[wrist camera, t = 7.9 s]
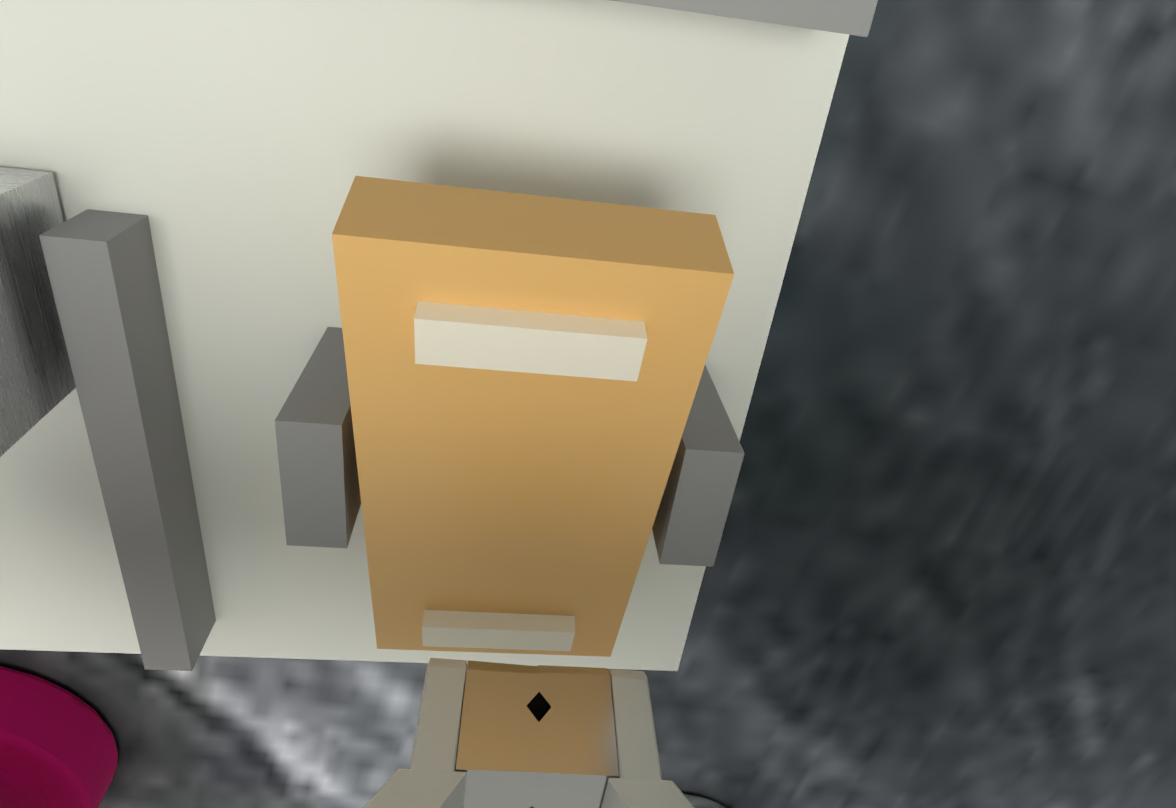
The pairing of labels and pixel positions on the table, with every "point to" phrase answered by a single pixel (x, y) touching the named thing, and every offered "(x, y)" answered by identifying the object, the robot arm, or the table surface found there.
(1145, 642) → the table surface
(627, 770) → the robot arm
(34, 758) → the pepper mill
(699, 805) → the beer glass
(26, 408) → the metal slider knob
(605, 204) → the amber rocker
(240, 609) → the console
